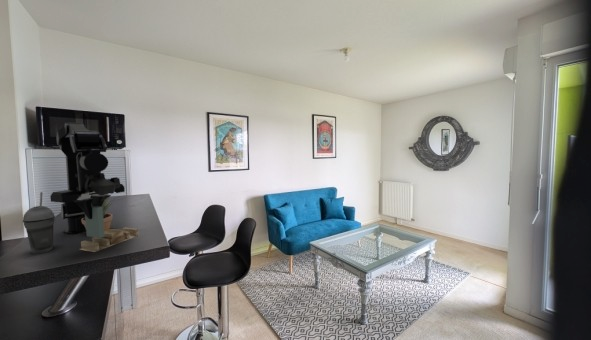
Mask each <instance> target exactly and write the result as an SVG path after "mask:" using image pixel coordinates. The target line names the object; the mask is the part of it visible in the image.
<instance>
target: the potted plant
mask: <svg viewBox="0 0 591 340" xmlns="http://www.w3.org/2000/svg"><path fill="white" fill-rule="evenodd" d="M90 196H92V195H90ZM109 199H110V197H108V198H107V199H106V200H105V201H104V203H103V205H102V207H103V220H104V231H106V230H109V229H111V222H112V220H113V219H114V218H113V213H109V212H108V211H107V210H108V209H109V208H110V207H111V206H112V204H113V203H111V201H109V202H108V200H109ZM107 202H108V203H107ZM81 221H82V224H84V226H85V228H86V220H85V218H82V219H81Z"/></svg>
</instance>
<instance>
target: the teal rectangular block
mask: <svg viewBox="0 0 591 340" xmlns="http://www.w3.org/2000/svg"><path fill="white" fill-rule="evenodd" d="M91 208H92V219H88V217H87V216H86V215H85V220H86V230H85V231H86V232H85V233H86V237H90V238H94V237H95V238H102V237H105V234H104V220H103V207H102V206H92V205H91Z"/></svg>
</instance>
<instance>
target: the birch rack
mask: <svg viewBox="0 0 591 340" xmlns="http://www.w3.org/2000/svg"><path fill="white" fill-rule="evenodd" d="M121 230H123V234H124V235H125V240H124V241H121V242H118V243H116V244H113V245H110V241H109V239H106V238H95V237H91V240H92V241H90V240H82V241H80V247H81V248H79V250H80V251H81V250H82V251H86V252H93V253H96V252H99V251H101V250H104V249H107V248H110V247H112V246H115V245H118V244H120V243H123V242H125V241H128V240H130V239H133V238H136V237H139V236H140V234H139V229H138V228H133V227H122V228H121Z"/></svg>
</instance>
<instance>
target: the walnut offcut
mask: <svg viewBox="0 0 591 340" xmlns="http://www.w3.org/2000/svg"><path fill="white" fill-rule="evenodd" d="M124 240H125V235H122V236H119V237H117V238H114V239H109V241H110V245H112V246H114V245H113V244H115V245H117V244H119V243H118V242H120V243H122V242H121V241H123V242H125V241H126V240H125V241H124ZM116 243H117V244H116Z"/></svg>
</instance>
